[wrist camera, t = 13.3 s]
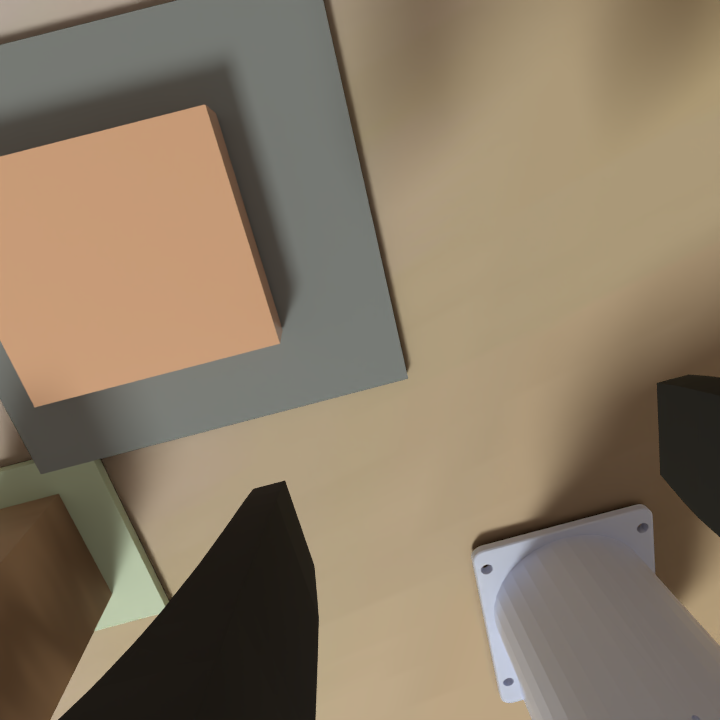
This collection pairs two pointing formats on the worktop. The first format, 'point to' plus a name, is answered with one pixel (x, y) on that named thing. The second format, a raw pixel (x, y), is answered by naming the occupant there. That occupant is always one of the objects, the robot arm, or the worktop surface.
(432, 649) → the worktop surface
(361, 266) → the mat
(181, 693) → the robot arm
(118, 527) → the rest pad
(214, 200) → the tile
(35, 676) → the walnut block
